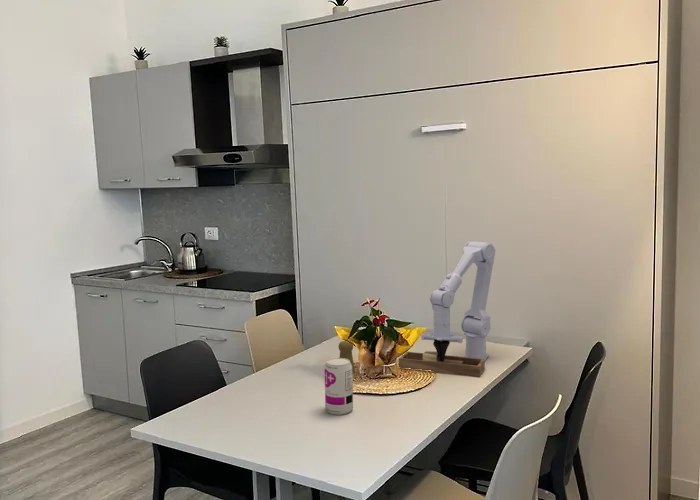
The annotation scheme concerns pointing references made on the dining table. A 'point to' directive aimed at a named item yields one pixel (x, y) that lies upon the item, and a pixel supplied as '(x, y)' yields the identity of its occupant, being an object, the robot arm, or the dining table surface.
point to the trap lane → (444, 364)
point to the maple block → (430, 356)
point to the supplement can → (338, 386)
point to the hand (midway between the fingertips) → (441, 360)
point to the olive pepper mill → (346, 352)
